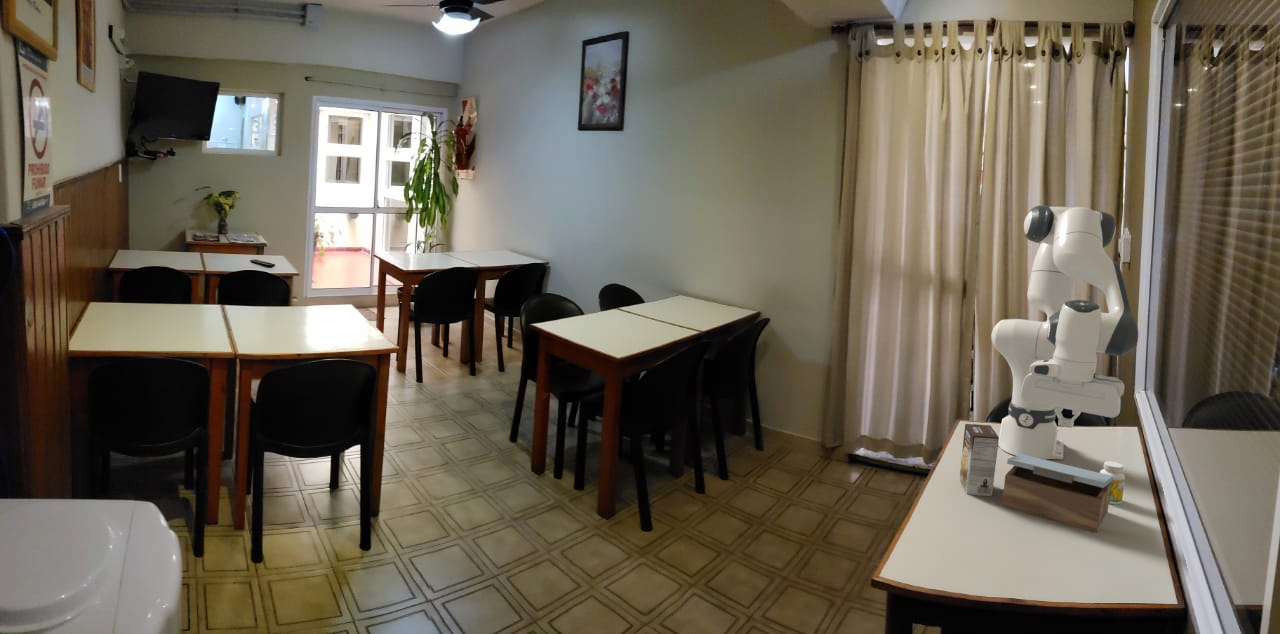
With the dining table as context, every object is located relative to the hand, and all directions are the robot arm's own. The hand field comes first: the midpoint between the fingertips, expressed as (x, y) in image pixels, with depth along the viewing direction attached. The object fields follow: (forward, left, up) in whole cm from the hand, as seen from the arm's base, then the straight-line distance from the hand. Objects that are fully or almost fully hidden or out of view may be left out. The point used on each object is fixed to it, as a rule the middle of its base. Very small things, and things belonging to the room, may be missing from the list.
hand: (1065, 426), depth 169 cm
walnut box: (0, 0, -21) cm, 21 cm away
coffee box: (+1, -18, -22) cm, 28 cm away
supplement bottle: (-15, +9, -21) cm, 28 cm away
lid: (0, 0, -12) cm, 12 cm away
